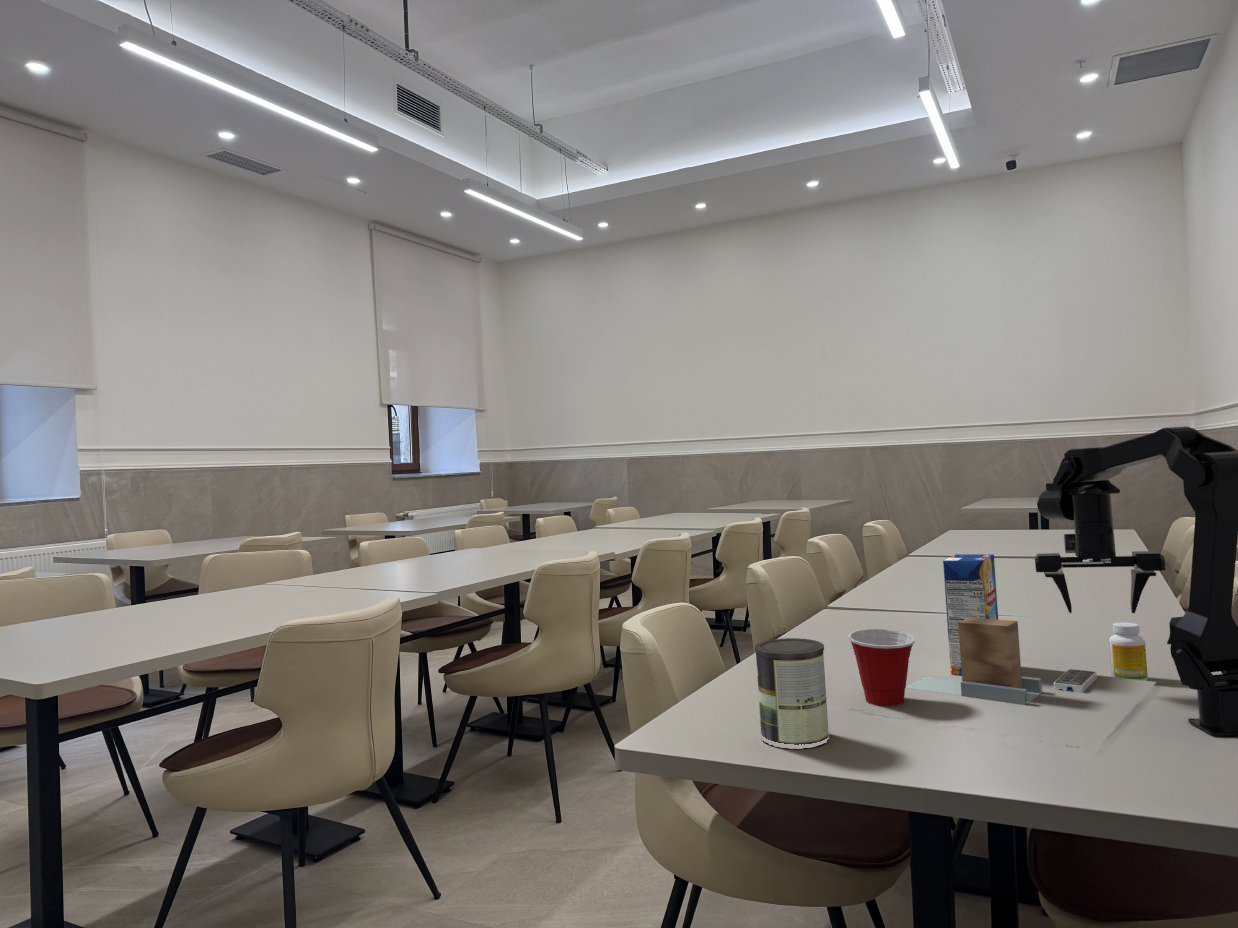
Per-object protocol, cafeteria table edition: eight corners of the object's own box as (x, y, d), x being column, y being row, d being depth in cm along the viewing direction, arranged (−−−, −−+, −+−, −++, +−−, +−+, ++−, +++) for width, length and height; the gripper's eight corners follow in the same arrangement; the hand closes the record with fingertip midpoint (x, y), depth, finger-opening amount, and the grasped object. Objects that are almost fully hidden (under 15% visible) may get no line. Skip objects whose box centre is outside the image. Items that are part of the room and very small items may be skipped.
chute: (1042, 696, 133) (1041, 678, 133) (1025, 709, 127) (1024, 690, 127) (925, 680, 147) (924, 664, 147) (904, 692, 141) (903, 675, 141)
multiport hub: (1098, 684, 140) (1097, 671, 140) (1083, 699, 132) (1082, 685, 132) (1069, 681, 143) (1069, 668, 143) (1053, 696, 134) (1052, 682, 135)
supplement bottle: (1153, 683, 137) (1149, 626, 137) (1119, 683, 138) (1115, 627, 139) (1140, 675, 143) (1135, 620, 143) (1107, 675, 144) (1103, 621, 144)
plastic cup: (876, 719, 127) (871, 643, 127) (840, 702, 137) (835, 632, 137) (934, 709, 130) (929, 636, 130) (894, 693, 140) (890, 625, 140)
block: (1022, 692, 134) (1017, 620, 134) (1012, 699, 130) (1007, 626, 130) (973, 685, 139) (969, 617, 139) (963, 692, 136) (958, 622, 136)
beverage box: (951, 678, 148) (942, 560, 148) (964, 665, 157) (956, 554, 157) (991, 682, 144) (982, 560, 144) (1001, 668, 153) (993, 554, 153)
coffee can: (748, 742, 119) (741, 648, 120) (780, 723, 127) (774, 635, 128) (811, 754, 113) (804, 655, 113) (841, 733, 121) (835, 641, 121)
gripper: (1150, 516, 139) (1158, 605, 138) (1030, 520, 147) (1038, 605, 146) (1161, 519, 129) (1170, 616, 128) (1032, 524, 137) (1040, 615, 136)
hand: (1101, 612), depth 135 cm, fingers open, 9 cm apart
